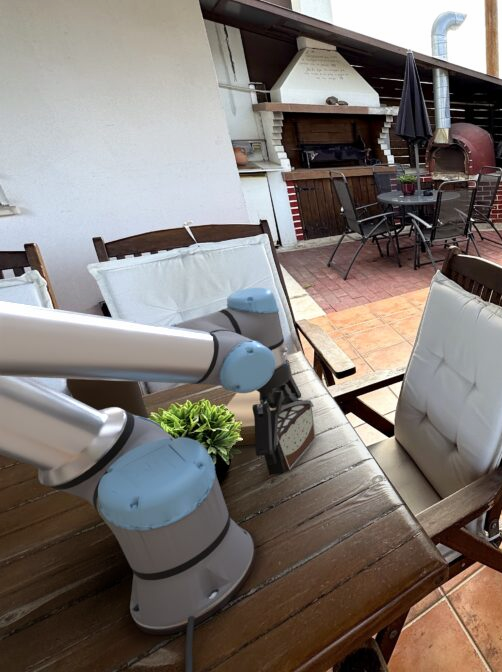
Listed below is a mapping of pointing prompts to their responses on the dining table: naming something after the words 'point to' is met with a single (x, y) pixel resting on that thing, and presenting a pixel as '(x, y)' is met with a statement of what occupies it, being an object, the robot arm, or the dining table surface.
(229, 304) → the robot arm
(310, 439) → the food container
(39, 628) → the dining table surface
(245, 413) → the tan wooden block
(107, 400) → the olive oil
